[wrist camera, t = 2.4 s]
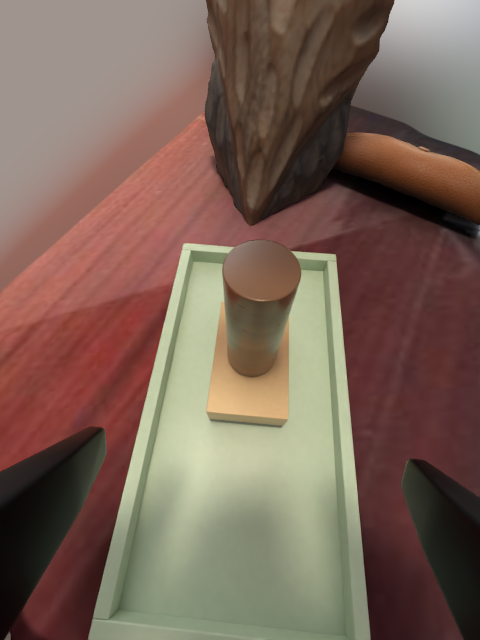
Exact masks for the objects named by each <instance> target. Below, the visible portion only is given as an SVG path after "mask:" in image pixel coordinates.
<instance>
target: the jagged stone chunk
mask: <svg viewBox="0 0 480 640" xmlns="http://www.w3.org/2000/svg"><path fill="white" fill-rule="evenodd" d="M206 2H207V9H208V18H207V23H208V29H209V33H210V38H211V42H212V46H213V50H214V53H215V60H214V62H213V63H212V71H211V77H210V81H209V84H208V86H209V87H208V95H207V100H206V104H205V120H206V124H207V127H208V132H209V136H210V140H211V143H212V146H213V149H214V153H215V156H216V160H217V166H216V167H217V171H218V172H219V174H220V175H221V176H222V177H223V178H224V185H225V186H226V187H227V188H228V189H229V190H230V193H231V195H232V196H233V197H234V205H235V207H236V208H237V209H238V210H239V211H240V212H241V213H242V214H243V216H244V218H245V220H246V221H247V223H248V224H249V225H253V224H255V223H256V222H258V221H260V220H262V219H264V218H265V217H267V216H269V215H270V214H272V213H275V212H278V211H280V210H281V209H282V208H284V207H285V206H286V205H289V204H291V203H295V202H298V201H299V200H300V199H301V198H302V197H303V196H304V195H306V194H310V193H314V192H316V191H318V190H319V189H320V188H321V187H322V185H323V184H324V181H325V180H324V179H325V178H326V176H327V175H328V174H329V172H330V171H331V169H332V168H333V167H334V165H335V164H336V162H337V161H338V160H339V159H340V157H341V155H342V153H343V151H344V145H345V138H346V132H347V127H348V120H349V112H350V104H351V100H352V98H353V95H354V93H355V91H356V88H357V86H358V84H359V81H360V80H361V78H362V76H363V75H364V73H365V71H366V69H367V68H368V66H369V65H370V63H371V62H372V61H373V60H374V59H375V57H376V55H377V54H378V52H379V41H380V37H381V35H382V33H383V32H384V31H385V28H386V26H387V23H388V18H389V14H390V11H391V9H392V7H393V4H394V0H206Z"/></svg>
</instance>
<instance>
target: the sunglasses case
mask: <svg viewBox="0 0 480 640" xmlns="http://www.w3.org/2000/svg"><path fill="white" fill-rule="evenodd" d="M332 169H335V170H337V171H341V172H344V173H348V174H350V175H353V176H360V177H361V178H363V179H366V180H370V181H375V182H379V183H380V184H382V185H384V186H386V187H389V188H391V189H393V190H396V191H398V192H400V193H403V194H406V195H409V196H412V197H415V198H418V199H420V200H422V201H423V202H426V203H428V204H430V205H433V206H435V207H438V208H441V209H443V210H446V211H448V212H451V213H453V214H455V215H458V216H460V217H463V218H465V219H468V220H470V221H472V222H474V223H476V224H478V225H480V171H479V170H477V169H476V168H474V167H472V166H470V165H468V164H466V163H464V162H462V161H460V160H457V159H454V158H451V157H448V156H443V155H440V154H436V153H433V152H429V150H428V149H426V148H424V147H418V148H417V147H415V146H413V145H410V144H408V143H406V142H403V141H400V140H398V139H395V138H393V137H389V136H385V135H379V134H369V133H346V138H345V145H344V151H343V153H342V155H341V157H340V159H339V160H338V161H337V162H336V164H335V165H334V167H333V168H332Z"/></svg>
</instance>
